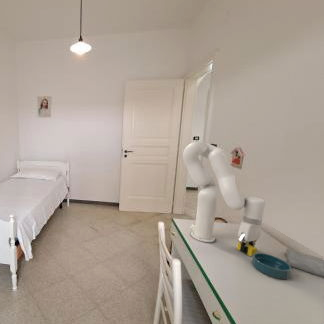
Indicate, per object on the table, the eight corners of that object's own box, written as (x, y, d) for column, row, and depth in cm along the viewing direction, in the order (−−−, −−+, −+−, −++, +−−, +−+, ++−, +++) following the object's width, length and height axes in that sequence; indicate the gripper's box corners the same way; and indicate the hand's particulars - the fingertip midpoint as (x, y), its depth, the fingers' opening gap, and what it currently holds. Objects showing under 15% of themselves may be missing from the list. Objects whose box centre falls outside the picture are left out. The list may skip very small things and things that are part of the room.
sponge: (237, 248, 115) (238, 242, 114) (242, 247, 116) (243, 241, 115) (250, 256, 108) (252, 249, 107) (256, 255, 109) (257, 248, 108)
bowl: (244, 263, 102) (246, 255, 101) (263, 259, 106) (264, 251, 105) (277, 282, 89) (279, 273, 89) (296, 276, 93) (298, 267, 93)
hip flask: (288, 266, 100) (355, 288, 87) (289, 259, 100) (358, 280, 86) (285, 253, 112) (344, 270, 98) (287, 246, 111) (346, 263, 98)
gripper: (255, 215, 115) (249, 245, 118) (233, 218, 110) (228, 249, 113) (271, 221, 108) (264, 253, 111) (248, 225, 103) (242, 258, 106)
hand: (246, 251), depth 112 cm, fingers closed on sponge, 4 cm apart
